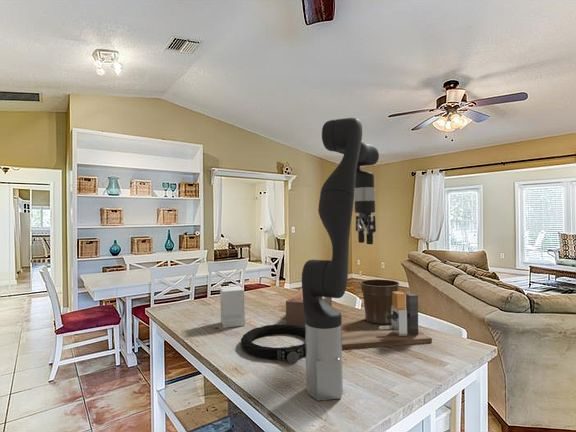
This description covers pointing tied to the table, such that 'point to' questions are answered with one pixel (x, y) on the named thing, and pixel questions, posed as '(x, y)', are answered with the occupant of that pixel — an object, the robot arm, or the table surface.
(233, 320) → the supplement box
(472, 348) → the table surface
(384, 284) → the plant pot
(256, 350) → the cable lock
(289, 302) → the tissue box cover
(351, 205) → the robot arm
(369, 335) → the board
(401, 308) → the end link
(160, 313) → the table surface
